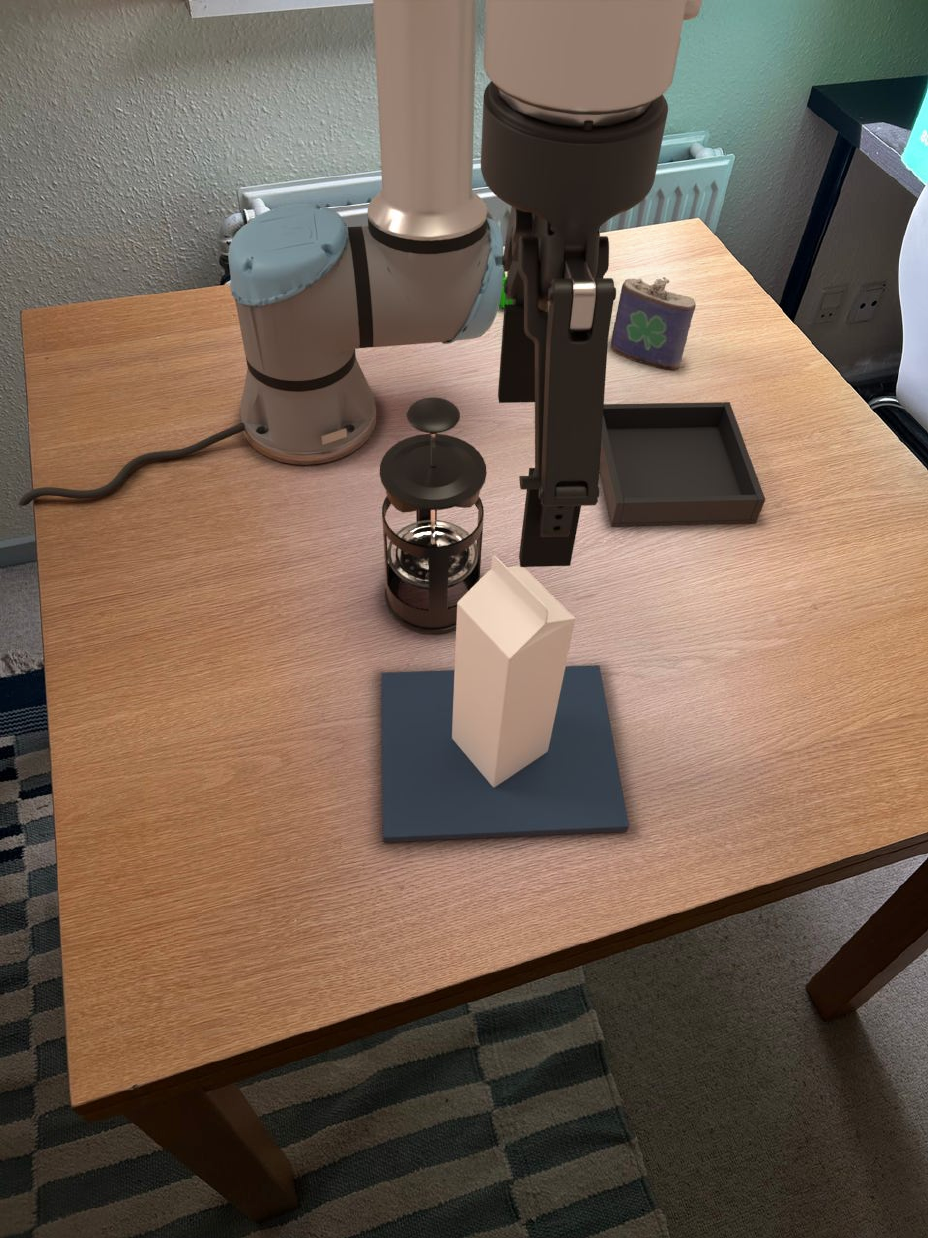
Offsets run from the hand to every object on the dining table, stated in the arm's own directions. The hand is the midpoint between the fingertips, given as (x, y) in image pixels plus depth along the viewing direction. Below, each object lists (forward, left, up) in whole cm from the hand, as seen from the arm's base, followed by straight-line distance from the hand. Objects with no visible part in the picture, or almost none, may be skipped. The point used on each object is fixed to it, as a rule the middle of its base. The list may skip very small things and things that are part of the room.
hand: (531, 474), depth 54 cm
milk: (0, 0, -32) cm, 32 cm away
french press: (-5, +18, -33) cm, 38 cm away
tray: (+22, +34, -33) cm, 52 cm away
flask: (+23, +55, -33) cm, 68 cm away
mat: (0, 0, -33) cm, 33 cm away
